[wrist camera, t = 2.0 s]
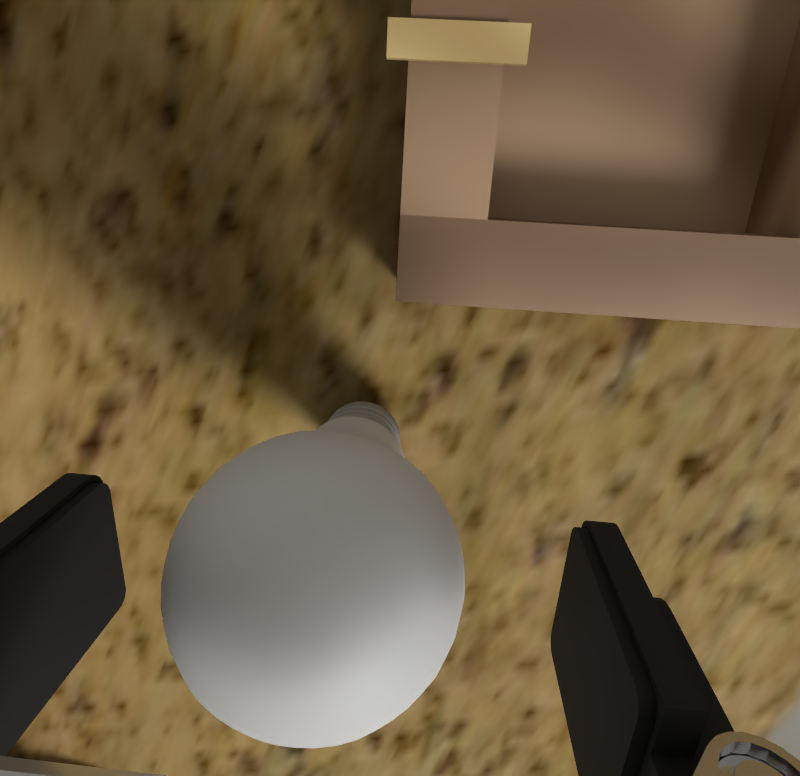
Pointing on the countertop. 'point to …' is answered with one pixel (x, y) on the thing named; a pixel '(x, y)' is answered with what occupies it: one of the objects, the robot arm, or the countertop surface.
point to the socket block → (602, 157)
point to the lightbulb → (314, 584)
